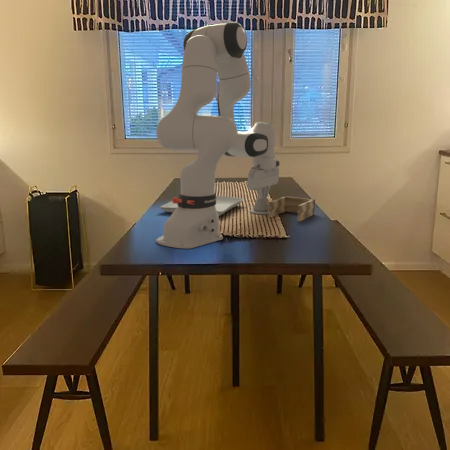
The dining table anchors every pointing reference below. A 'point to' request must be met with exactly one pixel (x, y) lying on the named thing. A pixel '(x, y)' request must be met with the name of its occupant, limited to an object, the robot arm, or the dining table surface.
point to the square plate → (221, 205)
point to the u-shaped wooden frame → (292, 207)
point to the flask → (262, 203)
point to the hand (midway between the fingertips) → (263, 197)
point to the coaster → (259, 212)
